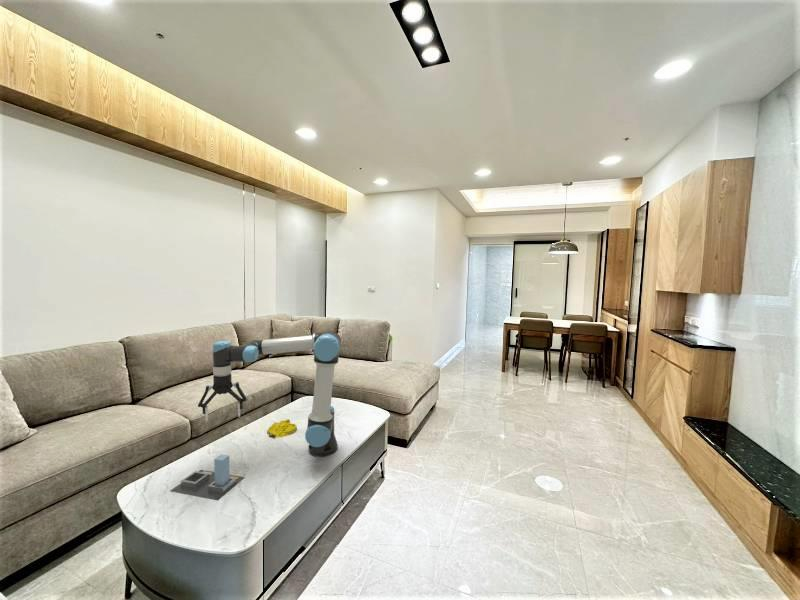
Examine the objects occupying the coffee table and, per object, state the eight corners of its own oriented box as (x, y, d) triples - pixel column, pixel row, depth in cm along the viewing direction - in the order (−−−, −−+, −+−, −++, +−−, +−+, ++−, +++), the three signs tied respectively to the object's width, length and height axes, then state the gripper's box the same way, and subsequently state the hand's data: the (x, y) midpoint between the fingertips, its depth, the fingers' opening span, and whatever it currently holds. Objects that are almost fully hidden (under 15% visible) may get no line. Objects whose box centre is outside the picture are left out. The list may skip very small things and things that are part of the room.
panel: (245, 479, 148) (245, 473, 148) (218, 502, 132) (217, 495, 132) (200, 471, 153) (200, 465, 153) (169, 493, 138) (169, 486, 137)
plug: (231, 482, 144) (231, 454, 143) (222, 490, 139) (222, 460, 138) (223, 481, 144) (223, 452, 144) (214, 488, 140) (214, 459, 139)
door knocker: (299, 432, 194) (299, 425, 194) (272, 440, 184) (272, 433, 184) (290, 423, 207) (290, 416, 207) (263, 429, 198) (263, 422, 197)
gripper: (251, 369, 163) (251, 411, 164) (192, 374, 153) (193, 419, 154) (251, 373, 156) (252, 416, 158) (190, 379, 146) (191, 425, 147)
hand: (223, 418), depth 156 cm, fingers open, 13 cm apart
